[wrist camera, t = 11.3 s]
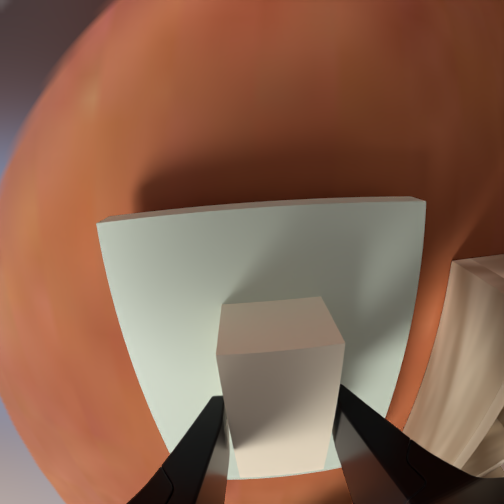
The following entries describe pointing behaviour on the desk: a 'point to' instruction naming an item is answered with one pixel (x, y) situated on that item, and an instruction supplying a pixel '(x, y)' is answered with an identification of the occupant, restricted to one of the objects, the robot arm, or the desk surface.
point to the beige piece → (466, 373)
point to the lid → (266, 316)
